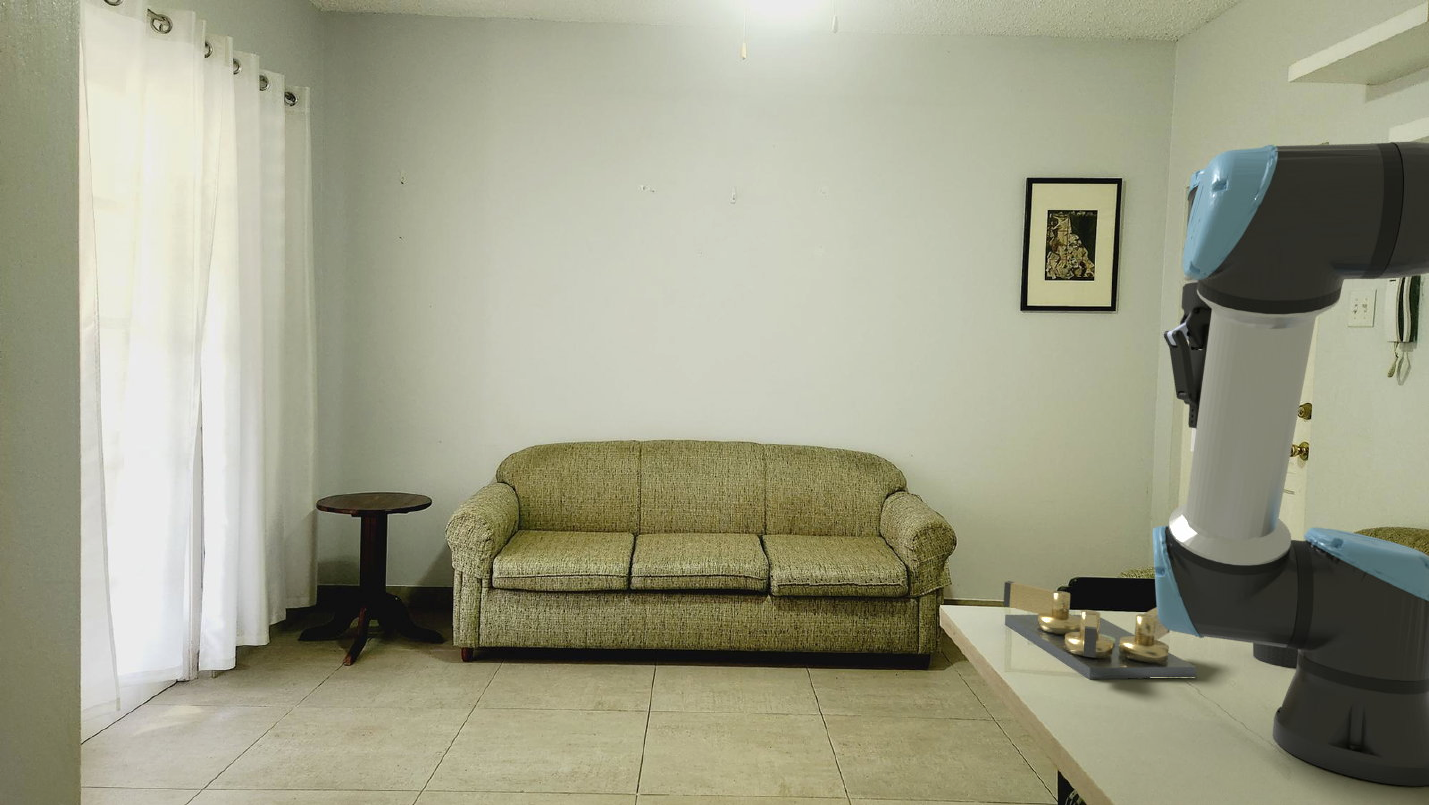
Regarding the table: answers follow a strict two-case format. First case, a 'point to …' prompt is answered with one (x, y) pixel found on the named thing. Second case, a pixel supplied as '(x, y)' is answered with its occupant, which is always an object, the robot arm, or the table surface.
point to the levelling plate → (1099, 667)
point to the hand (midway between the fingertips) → (1201, 452)
